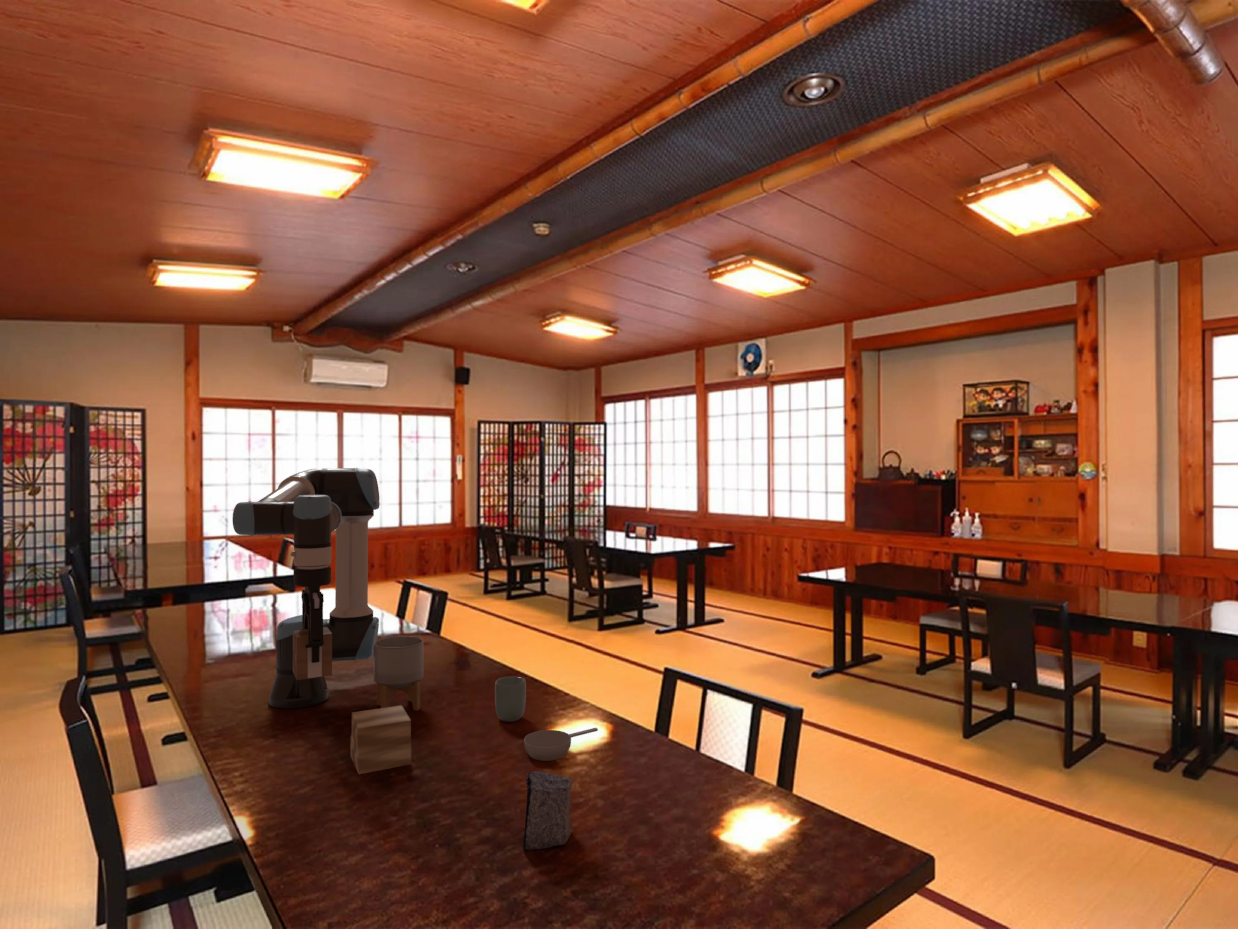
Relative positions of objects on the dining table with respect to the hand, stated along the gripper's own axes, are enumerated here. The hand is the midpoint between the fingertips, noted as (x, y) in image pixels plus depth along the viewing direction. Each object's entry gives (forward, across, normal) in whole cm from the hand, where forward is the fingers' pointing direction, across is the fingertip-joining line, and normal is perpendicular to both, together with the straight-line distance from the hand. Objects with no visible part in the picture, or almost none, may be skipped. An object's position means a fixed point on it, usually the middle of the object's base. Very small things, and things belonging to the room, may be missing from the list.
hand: (312, 672), depth 157 cm
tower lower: (+21, +3, +14) cm, 25 cm away
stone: (+21, +52, +32) cm, 65 cm away
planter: (+21, -31, +26) cm, 46 cm away
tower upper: (+16, +3, +14) cm, 22 cm away
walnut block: (0, 0, 0) cm, 0 cm away
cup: (+21, -7, +49) cm, 54 cm away
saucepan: (+21, +18, +52) cm, 59 cm away
